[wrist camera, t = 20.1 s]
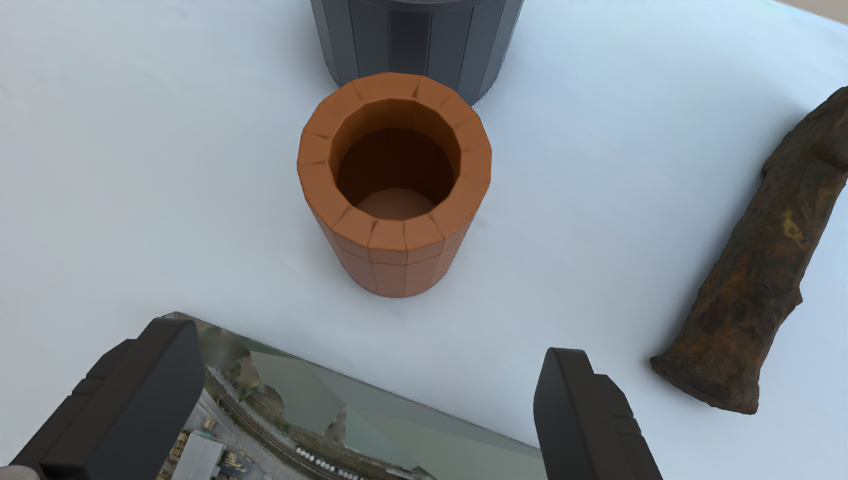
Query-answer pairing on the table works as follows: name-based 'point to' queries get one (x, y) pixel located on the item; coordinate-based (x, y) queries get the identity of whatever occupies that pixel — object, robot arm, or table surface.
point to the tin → (417, 42)
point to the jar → (394, 178)
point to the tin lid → (426, 5)
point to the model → (324, 426)
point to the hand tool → (762, 265)
